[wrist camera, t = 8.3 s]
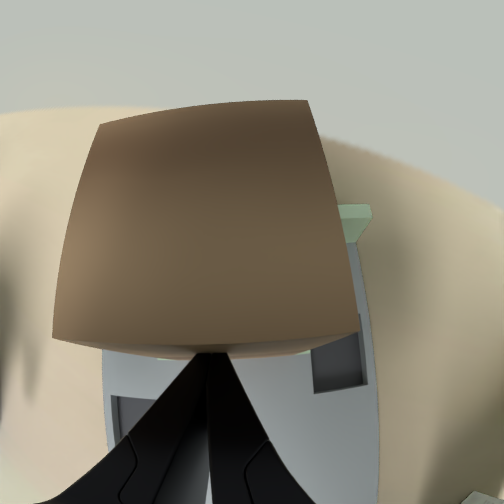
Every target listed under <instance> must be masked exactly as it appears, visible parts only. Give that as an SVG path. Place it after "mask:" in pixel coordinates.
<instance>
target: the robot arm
mask: <svg viewBox="0 0 504 504" xmlns="http://www.w3.org/2000/svg"><path fill="white" fill-rule="evenodd" d="M209 473H210V482H211V494H212V504H316V503H315V502H314V501H313V500H312V499H311V498H310V496H309V495H308V494H307V493H306V492H305V491H304V489H303V488H302V487H301V486H300V485H299V483H298V482H297V481H296V480H295V478H294V477H293V476H292V474H291V473H290V472H289V470H288V469H287V467H286V466H285V464H284V463H283V461H282V459H281V458H280V456H279V454H278V453H277V451H276V449H275V447H274V446H273V444H272V442H271V441H270V439H269V437H268V435H267V433H266V431H265V429H264V427H263V425H262V423H261V421H260V419H259V417H258V415H257V414H256V412H255V410H254V408H253V406H252V404H251V402H250V400H249V398H248V396H247V394H246V392H245V389H244V387H243V385H242V383H241V381H240V379H239V377H238V375H237V373H236V371H235V369H234V367H233V364H232V362H231V360H230V358H229V356H228V354H227V353H212V354H211V353H197V354H195V356H194V357H193V358H192V359H191V360H190V361H189V363H188V364H187V365H186V366H185V367H184V368H183V370H182V371H181V372H180V373H179V374H178V375H177V377H176V378H175V379H174V380H173V381H172V382H171V384H170V385H169V386H168V387H167V388H166V389H165V391H164V392H163V393H162V394H161V395H160V396H159V398H158V399H157V400H156V401H155V402H154V403H153V404H152V406H151V407H150V408H149V409H148V410H147V411H146V412H145V414H144V415H143V416H142V417H141V418H140V419H139V420H138V421H137V423H136V424H135V425H134V426H133V427H132V428H131V429H130V431H129V432H128V435H125V436H124V437H123V438H122V439H121V440H120V442H119V443H118V444H117V445H116V446H115V447H114V448H113V449H112V450H111V451H110V452H109V453H108V454H107V455H106V456H105V457H104V458H103V459H102V460H101V461H100V462H99V463H97V464H96V465H95V466H94V467H93V468H92V469H91V470H89V471H88V472H87V473H86V474H85V475H83V476H82V477H81V478H80V479H78V480H77V481H76V482H75V483H74V484H72V485H71V486H70V487H69V488H67V489H66V490H65V491H64V492H62V493H61V494H59V495H58V496H56V497H54V498H52V499H50V500H48V501H45V502H41V503H35V504H205V503H206V495H207V488H208V480H209Z"/></svg>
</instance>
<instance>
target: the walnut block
mask: <svg viewBox="0 0 504 504" xmlns="http://www.w3.org/2000/svg"><path fill="white" fill-rule="evenodd" d="M359 331H360V324H359V317H358V310H357V303H356V296H355V290H354V284H353V278H352V272H351V267H350V261H349V256H348V251H347V246H346V241H345V236H344V232H343V227H342V222H341V218H340V214H339V209H338V205H337V201H336V197H335V193H334V189H333V185H332V181H331V177H330V173H329V170H328V166H327V162H326V159H325V155H324V152H323V148H322V145H321V141H320V138H319V135H318V132H317V128H316V126H315V122H314V119H313V116H312V113H311V110H310V107H309V104H308V101H307V100H268V101H267V100H266V101H244V102H229V103H218V104H208V105H199V106H191V107H184V108H177V109H171V110H165V111H159V112H153V113H148V114H143V115H138V116H133V117H128V118H124V119H120V120H115V121H111V122H107V123H103V124H100V125H99V128H98V130H97V133H96V135H95V138H94V140H93V143H92V146H91V148H90V151H89V154H88V157H87V160H86V163H85V166H84V169H83V172H82V175H81V178H80V181H79V184H78V188H77V191H76V195H75V198H74V202H73V206H72V210H71V213H70V218H69V222H68V226H67V230H66V235H65V240H64V245H63V250H62V255H61V261H60V267H59V273H58V280H57V288H56V296H55V306H54V317H53V332H52V338H54V339H58V340H62V341H66V342H70V343H75V344H79V345H84V346H89V347H94V348H99V349H104V350H109V351H115V352H120V353H127V354H133V355H139V356H146V357H154V358H161V359H170V360H191V359H192V358H193V357H194V356H195V354H197V353H211V354H212V353H227V354H228V356H229V358H230V360H232V359H251V358H266V357H279V356H290V355H295V354H298V353H302V352H305V351H307V350H310V349H313V348H316V347H319V346H322V345H325V344H327V343H330V342H333V341H336V340H338V339H341V338H344V337H346V336H349V335H351V334H354V333H356V332H359Z"/></svg>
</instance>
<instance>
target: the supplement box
mask: <svg viewBox="0 0 504 504" xmlns="http://www.w3.org/2000/svg"><path fill="white" fill-rule="evenodd" d="M461 504H504V500H502V499H499V498H495V497H492V496H489V495H486V494H483V493H480V492H477V491H473V492H472V493H471V494H470V495H469V496H468V497H467V498H466V499H465V500H464V501H463V502H462V503H461Z"/></svg>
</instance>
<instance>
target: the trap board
mask: <svg viewBox="0 0 504 504" xmlns="http://www.w3.org/2000/svg"><path fill="white" fill-rule="evenodd" d="M338 209H339V214H340V218H341V222H342V227H343V232H344V236H345V241H346V246H347V251H348V256H349V261H350V267H351V272H352V278H353V284H354V290H355V296H356V303H357V310H358V317H359V324H360V331H359V332H356V333H354V334H351V335H349V336H346V337H344V338H341V339H338V340H336V341H333V342H330V343H327V344H325V345H322V346H319V347H316V348H313V349H310V350H307V351H305V352H302V353H298V354H295V355H290V356H279V357H266V358H251V359H232V360H231V362H232V364H233V367H234V369H235V371H236V373H237V375H238V377H239V379H240V381H241V383H242V385H243V387H244V389H245V392H246V394H247V396H248V398H249V400H250V402H251V404H252V406H253V408H254V410H255V412H256V414H257V415H258V417H259V419H260V421H261V423H262V425H263V427H264V429H265V431H266V433H267V435H268V437H269V439H270V441H271V442H272V444H273V446H274V447H275V449H276V451H277V453H278V454H279V456H280V458H281V459H282V461H283V463H284V464H285V466H286V467H287V469H288V470H289V472H290V473H291V474H292V476H293V477H294V478H295V480H296V481H297V482H298V483H299V485H300V486H301V487H302V488H303V489H304V491H305V492H306V493H307V494H308V495H309V496H310V498H311V499H312V500H313V501H314V502H315V503H316V504H377V496H378V477H379V419H378V398H377V383H376V371H375V361H374V351H373V342H372V334H371V327H370V319H369V312H368V306H367V300H366V293H365V288H364V282H363V276H362V271H361V266H360V261H359V256H358V251H357V246H356V241H357V240H358V238H359V237H360V235H361V234H362V233H363V231H364V230H365V228H366V227H367V225H368V224H369V222H370V221H371V219H372V218H373V216H372V213H371V209H370V206H369V204H341V205H338ZM189 361H190V360H170V359H161V358H154V357H146V356H139V355H133V354H127V353H120V352H115V351H109V350H104V349H102V377H103V400H104V414H105V425H106V435H107V443H108V451H109V452H110V451H111V450H112V449H113V448H114V447H115V446H116V445H117V444H118V443H119V442H120V440H121V439H122V438H123V437H124V436H125V435H128V432H129V431H130V429H131V428H132V427H133V426H134V425H135V424H136V423H137V421H138V420H139V419H140V418H141V417H142V416H143V415H144V414H145V412H146V411H147V410H148V409H149V408H150V407H151V406H152V404H153V403H154V402H155V401H156V400H157V399H158V398H159V396H160V395H161V394H162V393H163V392H164V391H165V389H166V388H167V387H168V386H169V385H170V384H171V382H172V381H173V380H174V379H175V378H176V377H177V375H178V374H179V373H180V372H181V371H182V370H183V368H184V367H185V366H186V365H187V364H188V363H189ZM205 504H212V494H211V482H210V473H209V480H208V488H207V495H206V503H205Z"/></svg>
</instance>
